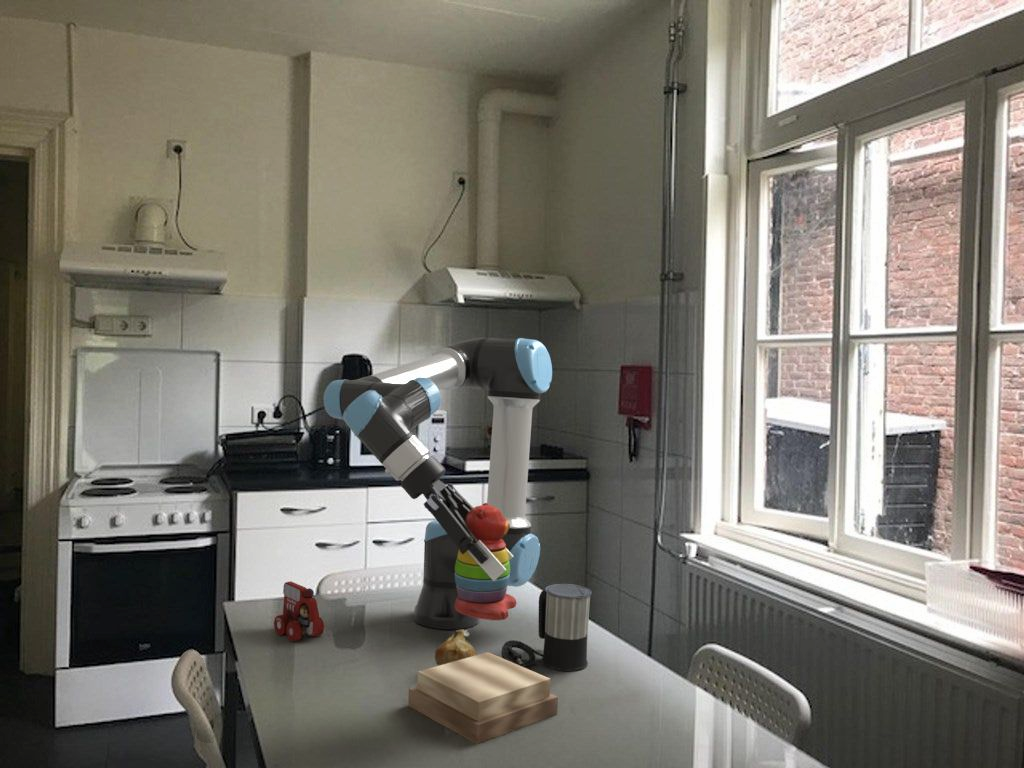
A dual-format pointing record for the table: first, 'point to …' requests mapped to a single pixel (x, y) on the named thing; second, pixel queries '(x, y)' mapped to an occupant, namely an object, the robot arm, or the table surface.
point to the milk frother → (558, 629)
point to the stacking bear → (472, 581)
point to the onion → (454, 648)
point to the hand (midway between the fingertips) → (503, 568)
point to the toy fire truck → (298, 613)
